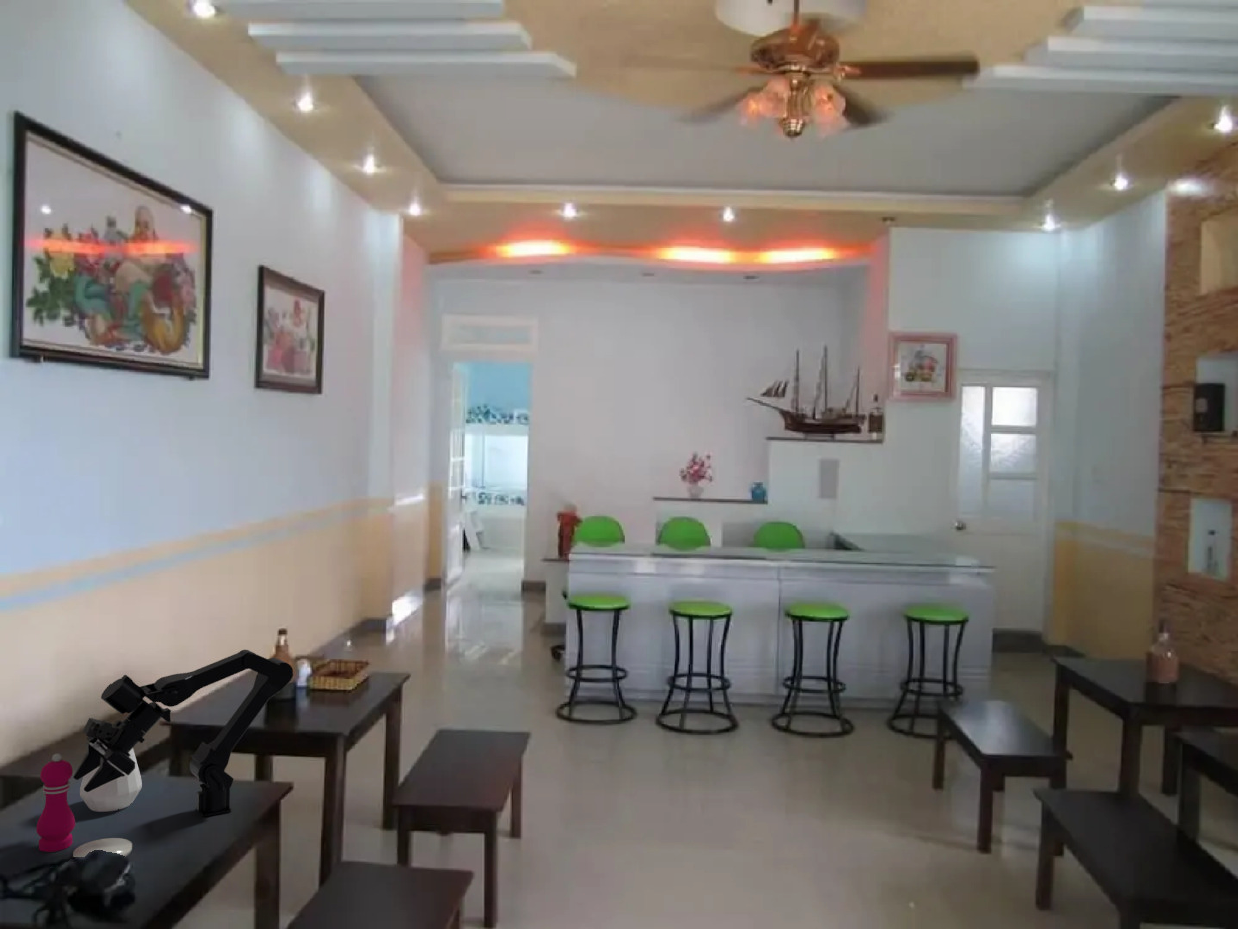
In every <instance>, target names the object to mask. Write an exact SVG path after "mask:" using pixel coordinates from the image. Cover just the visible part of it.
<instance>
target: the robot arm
mask: <svg viewBox="0 0 1238 929" xmlns="http://www.w3.org/2000/svg"><path fill="white" fill-rule="evenodd" d="M246 670H251V671H254V672H255V673H257V674H256V675H255V680H254V683H253V687H252V688H251V690H250V691H249V693H248V695H247V696H246V697H245V698H244V699H243V701H242V702H241V704H239V706H238V708H237V710H235V712H234V713H233V715H232V716H231V717H230V719H229V720H228V721H227V723H226V724H225V725H224V727H223V728H222V729H221V730H220V732H219V733H218V735H217V736H216V737H215V738H214V739H213V740H212V741H210V742H209V743H207V744H206V743H205V742H204V741H202V742H201V743H200V745H199V746H198V748H197V750H196V751H194V753H192V754H191V755H190V758H191V760H190V763H189V771H190V773H191V774H192V775H193V776H194V777H196V778H197V780H198V782H200V783H201V784H199V786H198V787H199V791H197V792H196V810H197V811H198V813H199V814H200V815H201V817H209V816H210V817H211V816H215V815H219V814H220V815H221V814H225V813H231V812H232V810H233V809H232V807H231V806H230V804H231V802H230V800H231V797H230V796H231V787H232V785H233V782H234V777H232V776H231V775H230V774H229V773H227V772H226V768H227V767H228V764H229V762H230V758H231V755H232V751H233V749H234V748H235V747H236V745H237V744H238V742H239V741H240V740H241V738H242V737H243V735H244V734H245V733H246V731H247V730H248V729H249V727H250V726H251V725H252V723H253V722H254V721H255V719H256V717H257V716H258V715H259V714H260V712H261V711H262V709H263V708H264V707H265V706H266V704H267V703H268V701H269V700H270V699H271V698H272V697H274V696H275V695H277V694H278V693H280V692H281V691H282V690H283V689H284V688H285V687H286V686H287V685H289V683H290V682H291V680H292V679H293V677H294V669H293V667H292V665H290V664H289V663H288V662H286V661H283V660H281V659H279V658H276V657H272V658H265V657H264V656H261V655H260V654H256V653H255V652H253V651H250V650H248V649H242V650H240V651H238V652H236V653H234V654H232V655H230V656H227V657H225V658H222V659H220V660H217V661H215V662H213V663H210V664H207V665H205V666H202V667H200V668H198V669H196V670H195V669H194V670H192V671H188V672H183V673H182V672H181V673H174V674H170V675H165V676H162V677H159V678H158V679H156V680H155V682H152V683H149V684H145V685H141V686H139V685H138V684H137V683H135V681H134V680H133V679H132V678H131V677H129V676H128V675H127V674H124V675H122V676H121V678H118V679H116V680H115V681H113V682H112V683H109V685H107V686H106V688H105V689H104V690H103V692H102V693H101V696H100V698H101V700H103V701H104V703H106V704H108V705H109V706H110V707H111V708H113V709H114V710H115V711H116V712H118V714H121V715H124V714H126V713H127V714H128V715H126V717H125V718H124V719H123V720H121V719H119V720H116V721H115V722H114V723H111V722H110V721H109V722H107V721H106V720H101V719H97V718H93V717H89V718H88V719H87V722H86V724H85V725H84V728H83V730H82V733H84V735H85V736H86V738H85V739H86V740H87V741H86V742H85V745H86V747H85V748H86V753H85V755H84V757H83V759H82V760H81V763H80V764H79V766H78V768H77V769H76V771H75V773H74V775H72V777H73V779H74V780H76V781H78V780H80V779H83V776H85V775H87V774H88V773H90V772H91V771H93V770H94V769H96V768H97V767H99V766H100V767H99V769H98V770H97V771H96V773H95V774H94V775H93V777H92V778H91V779H90V781H89V782H88V783H87V785H86V786H85V788H84V790H85V791H86V792H89V791H91V790H93V789H95V788H97V787H100V786H102V785H104V784H106V783H108V782H110V781H112V780H115V779H117V778H119V777H124V776H125V775H124V774H123V772H124V773H126V774H127V775H129V774H130V773H131V772H132V771H133V770H134V769H135V762H134V761H133V760H132V759H131V758H130V757H129V756H130V754H129V752H130V750H131V749H132V748H133V749H134V747H135V746H136V745H137V744H138V743H140V744H142V743H144V742H145V738H144V737H145V736H146V735H147V734H148V733H149V731H150V730H151V729H153V727H154V726H155V725H156V724H157V723H158V722H159V721H160V719H163V720H164V721H166V722H167V723H171V712H172V710H171V709H170V708H173V707H177V706H178V705H180V704H181V703H183V702H185V701H186V700H188V699H190V698H191V697H192V696H194V694H196V692H197V691H198V692H199V690H201V689H203V688H205V687H207V686H210V685H212V684H215V683H217V682H219V681H222V680H225V679H227V678H229V677H232V676H234V675H236V674H239V673H242V672H243V671H246ZM144 698H147V699H148V700H149V701H151V702H149V703H148V701H146V700H145V699H144ZM158 703H161V704H162V705H163V706H166V708H163V707H162V706H160V705H159V704H158ZM168 707H170V708H168Z"/></svg>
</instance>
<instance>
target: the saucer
mask: <svg viewBox="0 0 1238 929" xmlns="http://www.w3.org/2000/svg"><path fill="white" fill-rule="evenodd" d="M94 850H103V851H106V852H112V853H117V854H120V855H123V856H125V857H127V856H129V855H130V853H131V852H132V850H133V843H132V841H130V840H129V839H126V838H121V837H110V838H109V837H108V838H101V839H96V840H92V841H89V842H86V843H84V844H81V845H79V846H77V847H76V848H75V849H74V850H73V852H72V854H73V855H72V858H73V857H85V856H86V855H87V854H88V853H89V852H92V851H94Z"/></svg>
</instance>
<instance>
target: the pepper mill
mask: <svg viewBox="0 0 1238 929" xmlns="http://www.w3.org/2000/svg"><path fill="white" fill-rule="evenodd" d="M51 760H52V761H49V762H47V763H46V764H45V765H44V766H43V767H42V768H41V770H40V773H39V774H40V777H39V778H40V780H41V781H42V782H43V783H44V784H43V785H42V788H43V790H42V793H43V794H44V796H45V802H44V803H45V804H44V806H43V810H42V812H41V814H40V816H39V818H38V820H37V822H36V823H37V824H36V829H35V830H36V833H37V834H38V836H39V837H40V838H39V840H38V850H39V851H41V852H44V851H45V852H46V853H54V852H60V851H63V850H65V849H68V848H70V847H71V846H72V845H73V834H72V831H74V829H75V827H76V820H75V818H76V817H75V816H74V813H73V812H72V810H71V807H70V806H69V802H68V791H69V790H70V789H71V787H70V783H71V781H69V780H70V779H71V778H72V777H73V767H72V764H71V763H70V762H69V761H67V760H65V759H62V755H61V754H60V753H55V754H53V755H52V756H51ZM45 852H44V853H45Z"/></svg>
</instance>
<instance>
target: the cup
mask: <svg viewBox="0 0 1238 929" xmlns="http://www.w3.org/2000/svg"><path fill="white" fill-rule="evenodd" d="M129 754H130V756H129V757H130V758H131V759H132V760H133V761H134V762H135V769H134V770H133V771H132V772H131V773H130V774H129V775H127V774H126V773H124V772H123V774H124V775H125V776H124V777H119V778H117V779H115V780H112V781H110V782H108V783H106V784H104V785H102V786H100V787H97V788H95V789H93V790H91V791H89V792H86V791H85V790H84V788H85V786H86V785H87V783H88V782H89V781H90V779H91V778H92V777H93V775H94V774H95V773H96V771H97V770H98V769H99V767H100V766H99V767H97V768H96V769H94V770H93V771H91V772H90V773H88V774H87V775H85V776H83V777H82V780H81V784H80V788H79V795H80V798H81V800H83V801H84V803H85V805H86V806H87V807H88V809H89V810H91V811H93V812H97V813H98V812H99V813H100V812H101V813H102V812H103V813H104V812H106V813H107V812H114V811H115V812H116V811H119V810H123V809H125V808H127V807H130V804H131V803H132V804H133V802H134V800H135V799H136V798H137V796H138V794H140V791H141V790H142V787H143V783H142V782H143V781H142V777H141V772H140V768H139V766H138V761H137V758H136V755H135V750H134V747H133V748H132V749H131V750H130V752H129ZM132 804H131V805H132ZM118 809H119V810H118Z"/></svg>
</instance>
